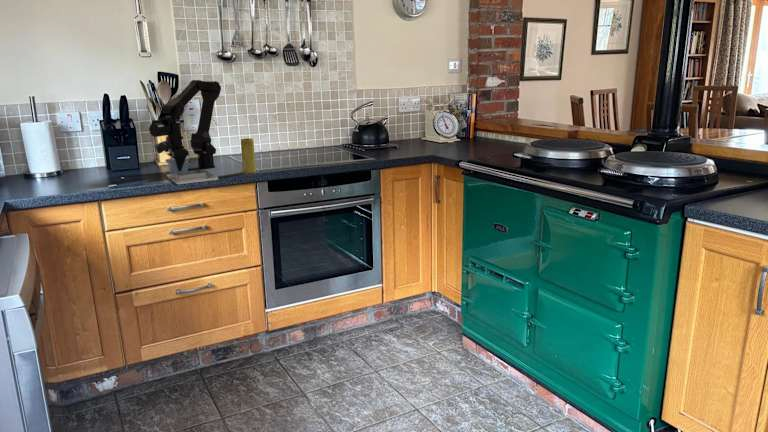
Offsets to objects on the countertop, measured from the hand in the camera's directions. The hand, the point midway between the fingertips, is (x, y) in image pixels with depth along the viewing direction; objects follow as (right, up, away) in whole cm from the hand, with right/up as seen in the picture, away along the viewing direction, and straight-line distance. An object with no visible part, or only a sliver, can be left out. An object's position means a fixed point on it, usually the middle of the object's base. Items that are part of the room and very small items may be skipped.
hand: (178, 170), depth 246 cm
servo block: (0, -1, 0) cm, 1 cm away
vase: (+31, -1, 0) cm, 31 cm away
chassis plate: (+9, -4, -10) cm, 14 cm away
